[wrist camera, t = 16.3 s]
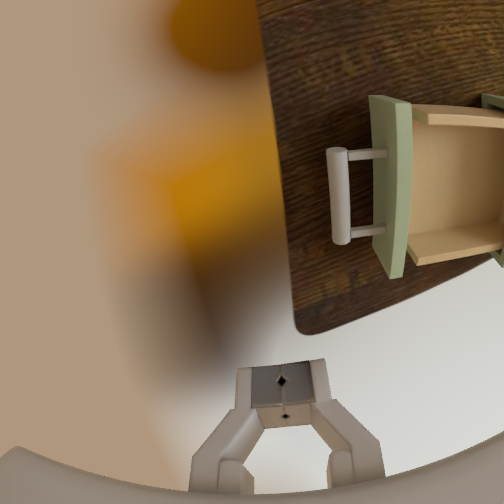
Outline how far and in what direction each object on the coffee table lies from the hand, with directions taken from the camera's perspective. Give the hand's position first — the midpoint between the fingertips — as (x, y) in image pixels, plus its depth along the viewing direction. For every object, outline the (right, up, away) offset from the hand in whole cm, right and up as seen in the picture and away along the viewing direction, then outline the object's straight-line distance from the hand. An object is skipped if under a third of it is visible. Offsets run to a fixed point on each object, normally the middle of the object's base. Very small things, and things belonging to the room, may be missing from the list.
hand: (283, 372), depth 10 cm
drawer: (+14, +11, +12) cm, 21 cm away
